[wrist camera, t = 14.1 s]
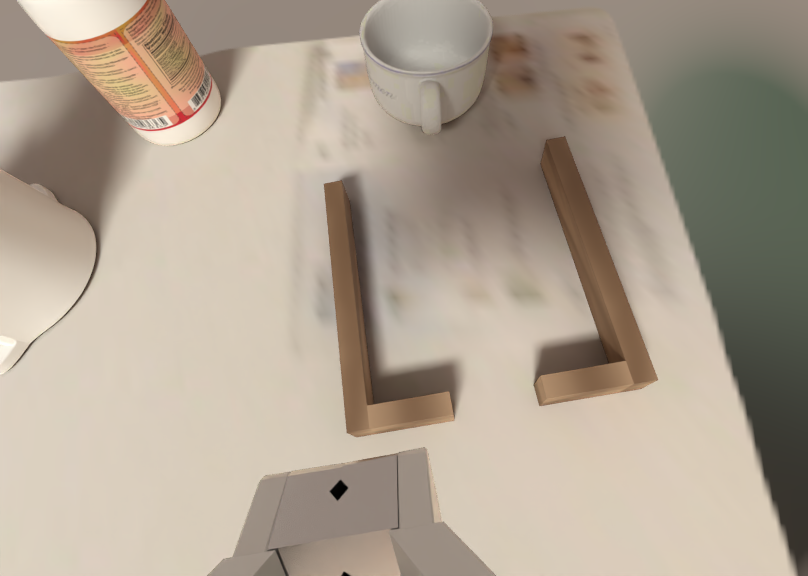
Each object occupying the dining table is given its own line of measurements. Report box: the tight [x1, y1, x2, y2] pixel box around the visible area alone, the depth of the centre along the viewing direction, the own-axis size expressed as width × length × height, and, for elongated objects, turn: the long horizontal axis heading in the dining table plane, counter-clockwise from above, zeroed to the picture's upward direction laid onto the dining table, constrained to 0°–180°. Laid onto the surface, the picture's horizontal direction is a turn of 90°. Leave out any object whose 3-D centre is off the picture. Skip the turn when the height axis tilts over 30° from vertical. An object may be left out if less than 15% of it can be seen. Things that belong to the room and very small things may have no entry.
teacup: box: [360, 0, 493, 135], centre depth 40 cm, size 14×11×8 cm
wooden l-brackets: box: [324, 136, 658, 437], centre depth 34 cm, size 20×20×3 cm
